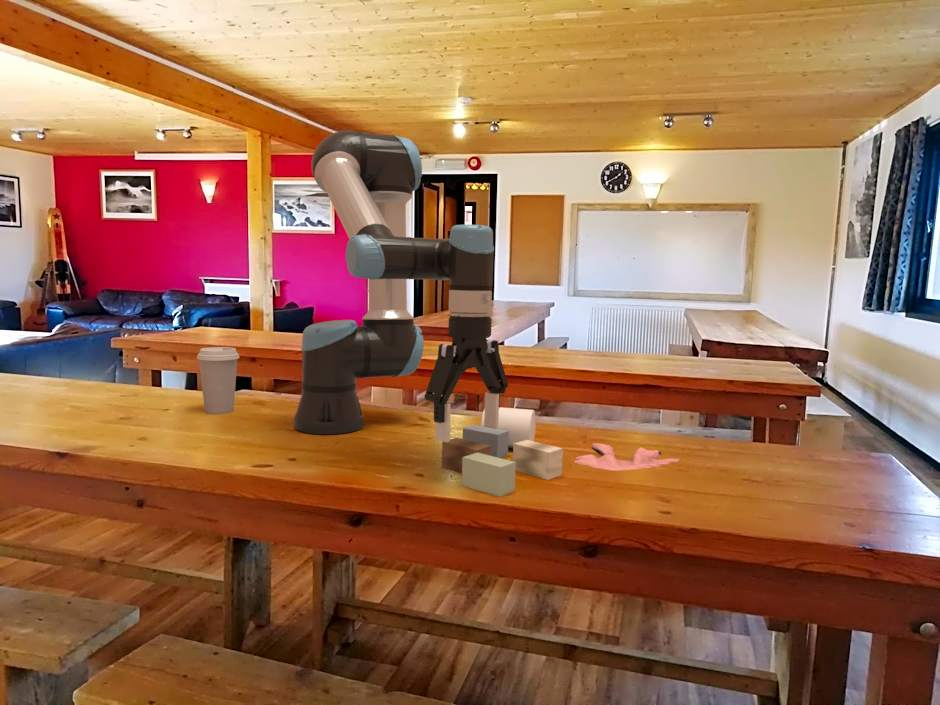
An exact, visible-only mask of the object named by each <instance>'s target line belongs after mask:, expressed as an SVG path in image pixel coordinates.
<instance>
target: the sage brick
mask: <svg viewBox="0 0 940 705" xmlns="http://www.w3.org/2000/svg"><path fill="white" fill-rule="evenodd" d="M515 466H516V462H513V460H509V459H505V458H497V457H493V456H489V455H485V454H481V453H474V454H471V455H468V456H465V457H463V459H462V473H461V486H462V487H466V488H470V489H473V490H476V491H479V492H482V493H486V494H489V495H493V496H496V497H499V498H501V497H504V496H505V495H509V494H510V493H512V492H515V490H516V489H515V487H516V470H515Z"/></svg>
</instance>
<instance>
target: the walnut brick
mask: <svg viewBox="0 0 940 705" xmlns="http://www.w3.org/2000/svg"><path fill="white" fill-rule="evenodd" d="M441 442H442V443H441V468H442V469H444V470H449V471H452V472H455V473H458V474H459V473H460V474H462V459H463V457H465V456H468V455H471V454H474V453H481V454H485V455H489V456H491V446H490V445H485V444H481V443H477V442H473V441H469V440H464V439H463V438H459V437H454V438H450V442H443V441H441Z"/></svg>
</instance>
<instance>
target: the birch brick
mask: <svg viewBox="0 0 940 705" xmlns="http://www.w3.org/2000/svg"><path fill="white" fill-rule="evenodd" d="M512 449H513V451H512V461H513V462H516V466H515V472H518V473H519V472H520V473H523V474H526V475H530V476H534V477H535V478H540V479H544V480H546V481H549V480H552V479H555V478H558V477H561V476H562V474H563V473H562V472H563V458H564V457H563V456H564V455H563V454H564V453H563V452H564V448H562V447H558V446H554V445H550V444H546V443H542V442H537V441H535V440H534V441H530V440H524V441H521V442H517V443H514V445H513V448H512Z"/></svg>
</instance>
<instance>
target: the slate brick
mask: <svg viewBox="0 0 940 705" xmlns="http://www.w3.org/2000/svg"><path fill="white" fill-rule="evenodd" d="M508 435H509V431H506V430H501V429H492V428H487V427H484V426H481V425H477V424H472V425H469V426H466V427H463V428H462V439H464V440H469V441H473V442H477V443H481V444H485V445H490V446H491V456H493V457H497V458H501V459H504V458H505V457H507V456H509V447H508Z"/></svg>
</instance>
